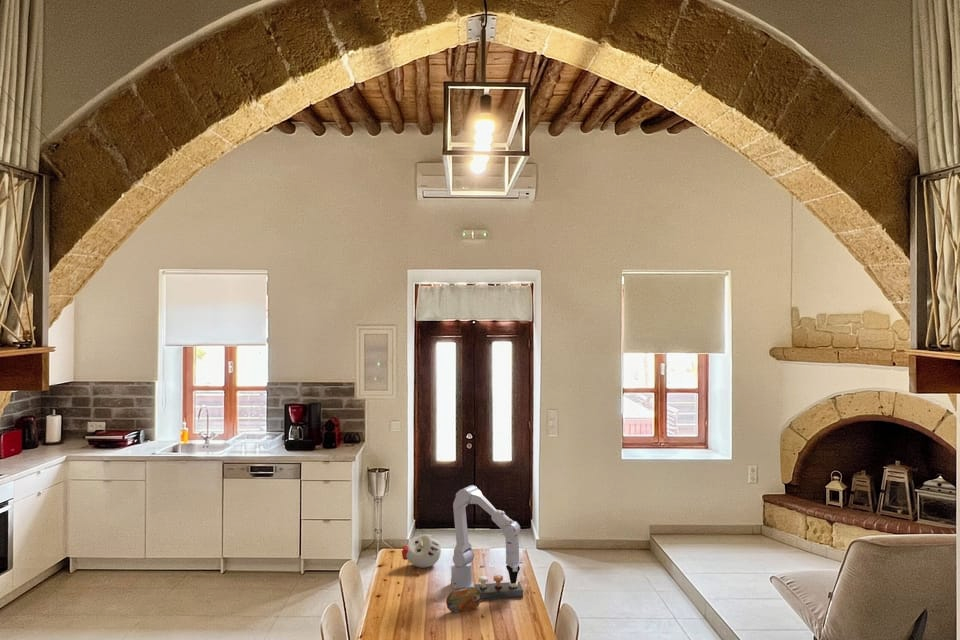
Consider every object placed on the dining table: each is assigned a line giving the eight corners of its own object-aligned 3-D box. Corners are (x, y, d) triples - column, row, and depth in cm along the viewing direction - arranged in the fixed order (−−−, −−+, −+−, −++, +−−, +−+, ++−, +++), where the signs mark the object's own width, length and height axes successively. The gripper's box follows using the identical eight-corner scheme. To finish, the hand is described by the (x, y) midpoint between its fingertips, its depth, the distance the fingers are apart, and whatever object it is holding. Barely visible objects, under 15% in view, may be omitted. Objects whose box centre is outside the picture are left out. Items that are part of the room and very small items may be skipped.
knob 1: (479, 589, 279) (478, 579, 279) (478, 586, 283) (478, 576, 283) (488, 589, 280) (488, 579, 280) (487, 585, 284) (487, 575, 284)
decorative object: (399, 564, 323) (398, 534, 323) (435, 559, 329) (435, 529, 329) (405, 575, 308) (405, 542, 309) (444, 569, 314) (443, 538, 315)
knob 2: (509, 594, 280) (509, 584, 280) (508, 591, 284) (508, 581, 284) (518, 594, 281) (518, 584, 281) (517, 590, 285) (517, 580, 285)
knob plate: (476, 600, 276) (476, 593, 276) (474, 591, 286) (474, 584, 286) (523, 597, 278) (523, 590, 278) (519, 588, 288) (519, 581, 288)
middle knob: (494, 588, 280) (494, 578, 280) (493, 585, 284) (493, 575, 284) (503, 588, 280) (503, 578, 280) (502, 584, 284) (502, 574, 284)
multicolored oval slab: (448, 615, 262) (448, 594, 262) (445, 612, 264) (444, 591, 265) (481, 607, 269) (481, 586, 269) (478, 604, 271) (477, 584, 272)
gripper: (524, 556, 276) (525, 588, 276) (519, 545, 291) (519, 576, 290) (507, 556, 276) (508, 589, 275) (503, 546, 290) (504, 577, 290)
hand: (513, 582), depth 283 cm, fingers closed, pressing on knob 2
